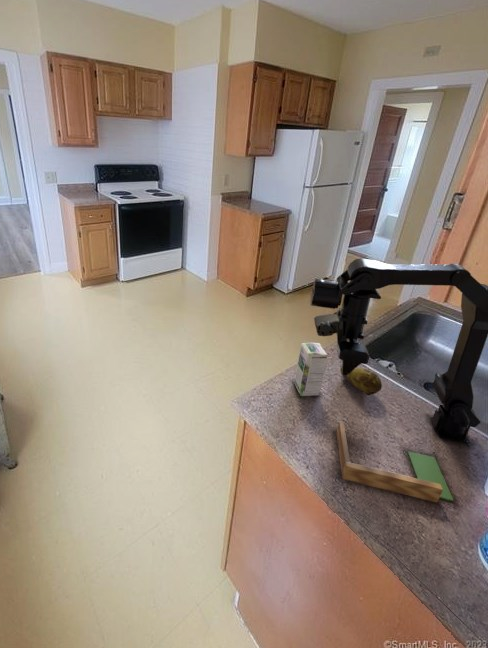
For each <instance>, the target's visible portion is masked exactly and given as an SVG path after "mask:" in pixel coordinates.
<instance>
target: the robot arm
mask: <svg viewBox="0 0 488 648" xmlns="http://www.w3.org/2000/svg"><path fill="white" fill-rule="evenodd" d="M394 285H396V286H397V285H398V286H399V285H400V286H447V287H448V286H449V287H450V286H451V287H452V286H453V287H455V288H456V289H457V290H458V291H460V293H461V299H460V300H461V301H460V308H461V314H462V315H461V316H462V325H461V327H460V330H459V333H458V337H457V340H456V343H455V346H454V349H453V353H452V356H451V359H450V362H449V366H448V369H447V371H445V372H444V373H442V374H441V373H438V372H436V373H435V375H434V380H433V382H432V383H431V386H432V388H433V390H434V392H435V395H436V396H437V398H438V400H439V402H440V403H441V404H439V405H438V407H437V409H435V411H434V413H433V415H432V416H430V417H429V418H430V422H431V423H432V425H433V428H434V429H435V431H436V433H437V435H438V437H439V438H441V439H446V440H450V441H455V442H458V443H459V442H460V443H464V444H469V443H470V440H469V438H468V437H467V435H468V433H469V431H470V429H471V428H476V427H477V426H478V425H479V424H481V423H482V422H481V420H480V418H479V417H478V415H477V413H476V412H475V411H474V391H473V385H472V383H473V379H474V376H475V373H476V371H477V368H478V364H479V362H480V359H481V356H482V353H483V350H484V348H485V346H486V342H487V339H488V285H487V284H486V283H485V284H484V283H480V282H479V281H478V280H477V279H476V278H475V277H474V276H472V274H471V272H470V271H469V270H467V269H466V268H465V267H464V266H462V265H461V264H459V263H448V264H392V263H386V262H383V261H379V260H375V259H368V258H361V257H360V258H355V259H354V260H352V261H351V262H350V263H349V264H348V266H347V269H346V270H345V271H343V272H342V273H341V274H340V275H338V276H337V278H336V281H334V280H333V281H332V280H324V279H323V278H322V279H321V278H315V279H314V282H313V285H312V287H311V291H310V292H311V293H310V302H309V303H310V306H311V307H318V308H325V309H333V310H335V309H337V311H335V312H334V313H328V314H322V315H315V316H314V317H313V318H314V319H313V320H314V327H315V330H316V335H317V336H318V337H331V336H333V335H334V334H336V342H337V343H336V344H337V350H336V353H337V356H338V359H339V360H340V361H341V367H342V373H341V375H342V374H343V375H348V374H349V373H350V372H351V371H353V370H354V369H355V368H356V367H359V366H360V365H367V364H368V363H369V360H370V354H369V351H368V348H367V347H366V346H365V344H364V343H359V340H364V338H365V335H364V332H363V331H364V327H365V325H368V322H369V321H368V318H367V315H368V310H369V306H370V303H371V302H370V301H371V299H372V300H373V299H375V300H381V299H382V296H381V294H380V292H379V290H380V289H383V288H385V287H388V286H394ZM340 306H341V307H340ZM343 375H342V376H343Z"/></svg>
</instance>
